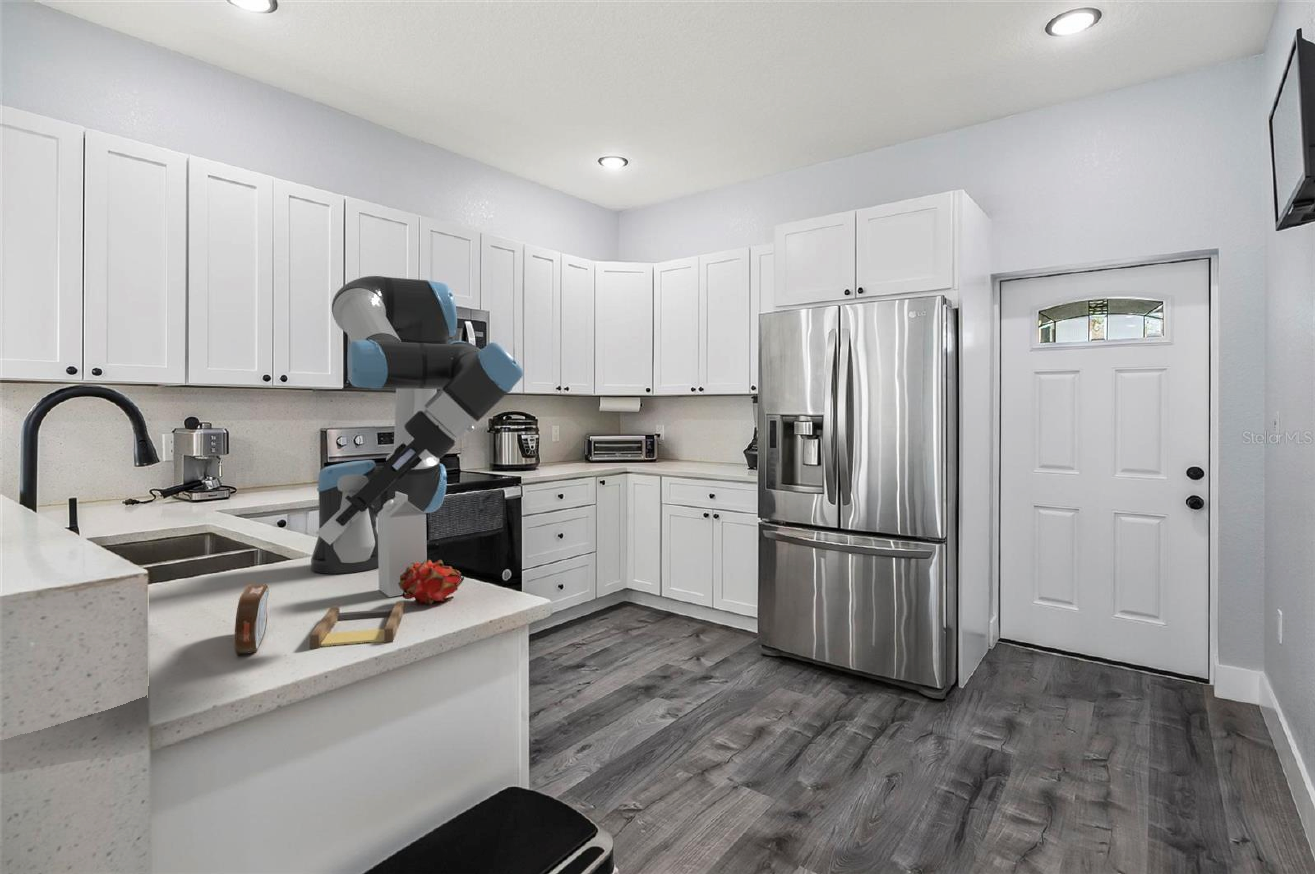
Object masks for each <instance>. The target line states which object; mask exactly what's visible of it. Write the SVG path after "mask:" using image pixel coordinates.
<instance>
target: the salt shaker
mask: <svg viewBox="0 0 1315 874" xmlns="http://www.w3.org/2000/svg"><path fill="white" fill-rule="evenodd" d="M368 482H369V481H368V478H367V477H366V476H364V475H345V476H342V477H340V478H339V479H338V483H337V486H338V490H340V491H342V492H343V495H342V501H341V507H340V509H341V508H342V507H343V506H344V505H345V504H346V503H347V502H348V500H347V499H346V497H347V496H348V495H349V496H350V497H352V496H353V495H356V494H357V493H358V492H359V491H360V490H361V489H362V488H363V487H364V486H365V485H366V484H367V483H368ZM374 546H375V539H374V534H373V529H372V525H371V520H370V515H369V510H368V508H367V509H366V510H365V511H363V513H362V514H361V515H360V516H359V517H358V518H357V519H356V520H355V521H354V522H353V523H352V520H351V521H350V523H349V525H348V526H347V528H346V529H345V530H344V531H343V533H342V534H341V535H340V536H339V537H338V538H337V539H336V540H335V541H334V544H333V548H334V550H335V552H336V554H337V555H338V557H339V558H340V560H341V562H343V563H355V562H362V561H366V560H368V559H370V556H371V554H372V551H373V549H374Z"/></svg>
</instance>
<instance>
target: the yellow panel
mask: <svg viewBox="0 0 1315 874" xmlns="http://www.w3.org/2000/svg"><path fill="white" fill-rule="evenodd" d="M384 629H385V628H375V629H366V630H364V629H363V630H355V631H354V630H352V631H339V632H338V631H337V632H330V633H328V634H327V635H326V637H325V638H324V640H323V641H322V643H321V646H324V647H333V645H336V646H345V645H344V644H348V645H357V643H360V644H367V643H366V642H371V643H381V642H385V640H384ZM364 642H365V643H364ZM342 644H343V645H342ZM330 645H331V646H330ZM321 646H320V647H321Z"/></svg>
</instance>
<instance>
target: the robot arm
mask: <svg viewBox="0 0 1315 874" xmlns="http://www.w3.org/2000/svg"><path fill="white" fill-rule="evenodd" d="M331 313H332V317H333V318H334V321H335V323H336V325H337V326H338V328H339V329H341V331H343V332H345V333H346V334H347V336H348V339H349V341H350V344H348V349H347V359H346V360H347V374H348V380H349V383H350V384H351V385H352V386H353V387H356V388H364V389H371V390H380V389H391V390H392V389H394V390H395V389H396V390H395V412H394V413H395V414H394V431H393V432H394V435H393V451H391V452H390V453H389V454H388V455H387V456H386V458H385V459H386V460H385V461H384V463H383V464H382V465H377V464H376V462H375V460H372V459H365V460H355V461H349V462H347V461H346V462H343V463H337V464H332V465H328V466H325V467H324V468H322V469H320V471H319V473H318V478H317V479H318V480H317V481H318V482H317V483H318V484H317V489H316V491H317V492H318V529H317V531H316V532H315V535H317V536H318V537H317V540H316V543H315V547H314V549H313V552H312V555H311V559H310V570H311V571H312V572H314V573H319V574H333V575H334V574H335V575H336V574H349V573H350V574H351V573H359V572H364V571H369V570H373V569H378V568H379V565H378V529H377V518H378V513H379V512H380V511H381V510H382V509H383V505H384V504H385V503H386V502H387V501H389V500H391V499H392V500H393V499H394V498H395V492H399V493H403V494H406V495H407V496H408V501H409V502H410V503H411V504H413V505H414V506H415V507H417V508H418V509H419V510H421V511H422V512H423V513H425V514H429V513H434V512H436V511H438V510H439V509H440V508H441V507H442V505H443V502H444V501H445V497H446V492H447V482H448V481H447V477H448V475H447V469H446V466H445V465H444V464H443V463H440V459H442V458H444V456H445V455H446V454H447V453H448V452H449V451H450V450H451V449H452V448H453V447H454V446H456V441H455V439H457V440H458V439H459V440H461V438H463V437H464V436H465V435H466V433H467V431H468V432H469V433H471V434H472V433H474V432H475V427H474V426H473V425H476V423H477V422H479V421H480V420H481V419H482V418H483V417H484V416H485V415H486V414H487V413H489V412H490V411H491V409H492V408H493V407H495V406H496V404H498V403H499V402H500V401H501V400H502V399H503V398H504V397H505V396H506V395H507V394H508V393H510V392H511V391H513V389H514V387H515V386H516V385H517V384H518V382H519V381H520V380H521V379H522V378H523V376H524V370H523V368H522V367H521V365H520V364H519V363H518V362H517V360H515V358H513V357H512V355H511V354H510V353H508V351H506V350H505V349H504V348H503V347H502V346H501V345H499V344H498V343H497V342H494V341H493V342H489V343H488V344H487V345H486V346H484V347H482V348H481V349H480V348H479V347H478V346H477V345H475V344H472V343H471V342H467V341H464V340H454V341H451V342H449V343H448V338H451V337H454V336H456V333H457V328H458V315H457V307H456V302H455V297H454V295H453V292H452V290H451V288H450V287H449V286H448V285H447V284H446V283H443V282H438V281H433V280H428V279H416V278H406V277H405V278H401V277H391V276H382V275H369V276H364V277H360V278H356V279H353V280H351V281H349V282H347V283H345V285H343V286H342V287H341V288H340V289H338V291H336V293H335V295H334V297H333V299H332V302H331ZM437 390H438V391H437ZM345 475H364V476H366V477H367V478H368V481H369V482H368V483H367V484H366V485H365V486H364V487H363V488H362V489H361V490H360V491H359V492H358V493H357V494H356V495H353V496H352V497H350V496H349V495H348V496H347V497H346V499H347V500H348V502H347V503H346V504H345V505H344V506H343V507H342V508H341V509H340V507H341V501H342V495H343V492H342V491H340V490H338V486H337V483H338V479H339V478H340V477H342V476H345ZM367 508H368V510H369V515H370V520H371V525H372V529H373V534H374V539H375V546H374V549H373V551H372V554H371V556H370V559H368V560H366V561H362V562H355V563H343V562H341V560H340V558H339V557H338V555H337V554H336V552H335V550H334V548H333V544H334V541H335V540H336V539H337V538H338V537H339V536H340V535H341V534H342V533H343V531H344V530H345V529H346V528H347V526H348V525H349V523H350V521H351V520H352V523H353V522H354V521H355V520H356V519H357V518H358V517H359V516H360V515H361V514H362V513H363V511H365V510H366V509H367Z"/></svg>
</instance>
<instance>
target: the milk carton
mask: <svg viewBox="0 0 1315 874" xmlns="http://www.w3.org/2000/svg"><path fill="white" fill-rule="evenodd" d="M377 533H378V565H379V567H378V590H379V591H380V592H381V593H384V595H386V596H387V597H389V598H392V597H399V596H402V594H403V592H404V591H403V590H402V589H401V588H400V586H399V584H398V583H399V582H400V575H402V574H403V573H404V572H406V569H407V567H410V566H412V567H413V566H414V564H412V563H414V562H417V563H419V564H422V563H423V561H425V560H426V561H428V559H427V556H428V555H427V513H423V512H422V511H421V510H419V509H418V508H417V507H415V506H414V505H413V504H411V503H410V502H409V501H408V496H407V495H406V494H403V493H399V492H395V498H394V499H393V500H392V499H391V500H389V501H387V502H386V503H385V504H384V505H383V509H382V510H381V511H380V512H379V513H378V517H377ZM404 593H405V592H404ZM405 595H406V593H405Z"/></svg>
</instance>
